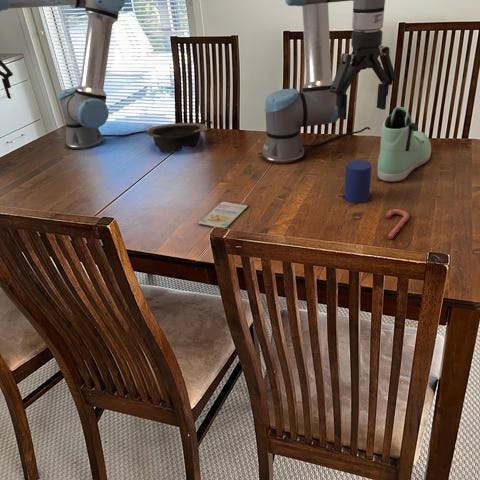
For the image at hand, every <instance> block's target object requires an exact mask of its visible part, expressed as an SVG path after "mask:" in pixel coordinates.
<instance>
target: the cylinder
mask: <svg viewBox="0 0 480 480" xmlns="http://www.w3.org/2000/svg"><path fill="white" fill-rule="evenodd" d="M372 167H373V165H372V163H371V162H370V161H367V160H363V159H355V160H350V161H348V162H346V163H345V179H344V180H345V181H344V199H345V200H346V201H347V202H350V203H353V204H354V203H355V204H356V203H357V204H360V203H361V204H362V203H365V202H367V201H368V200H369V199H370V193H371V191H370V190H371V177H372Z"/></svg>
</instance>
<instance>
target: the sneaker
mask: <svg viewBox="0 0 480 480" xmlns="http://www.w3.org/2000/svg"><path fill="white" fill-rule="evenodd" d="M379 146H380V149H379V154H378V159H377V170H376V171H377V177H378V179H380V180H382V181H385V182H392V183H393V182H400V181H403V180H404V179H406V178H407V177H408V175H410V173H412V172H413V171H414V170H415V169H417V168H418V167H421V166H422V165H424V164H426V163H428V161H429V160H430V159H431V154H432V145H431V141H430V139H429V137H428V136H427V134H426V133H425V132H423V131H420V130H419V126H418V124H416V123H415V122H413V118H412V117H411V116H410V112H409V110H408V109H407V108H406V107H403V106H397V107H394V108H393V110H392V113H391V114H389V115H388V116H387V117H386V118H385V119H384V120H383V123H382V125H381V131H380V145H379Z"/></svg>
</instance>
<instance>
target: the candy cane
mask: <svg viewBox="0 0 480 480" xmlns="http://www.w3.org/2000/svg"><path fill="white" fill-rule="evenodd" d="M393 215H400V216H402V217H401V219H400V220H399V221H398V223H396V225H395V226H394V227H393V228H392V230H391V231H390V232H389V233H388V234H387V239H389V240H393V238H394V237H395V236H396V235H397V233H399V231H400V230H401V228H403V226H404V225H405V224H406V223H407V221H408V220H409V218H410V215H409V213H408V212H407V211H406V210H403V209H397V208H396V209H395V208H394V209H390V210H388V211H387V212H386V214H385V217H386V219H389V218H390V219H391V217H392V216H393ZM404 222H405V223H404ZM400 227H401V228H400ZM399 228H400V229H399ZM398 229H399V230H398ZM397 230H398V231H397ZM396 232H397V233H396ZM395 233H396V234H395ZM394 234H395V235H394ZM393 235H394V236H393ZM388 236H390V237H391V236H393V237H391V238H390V237H388Z"/></svg>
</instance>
